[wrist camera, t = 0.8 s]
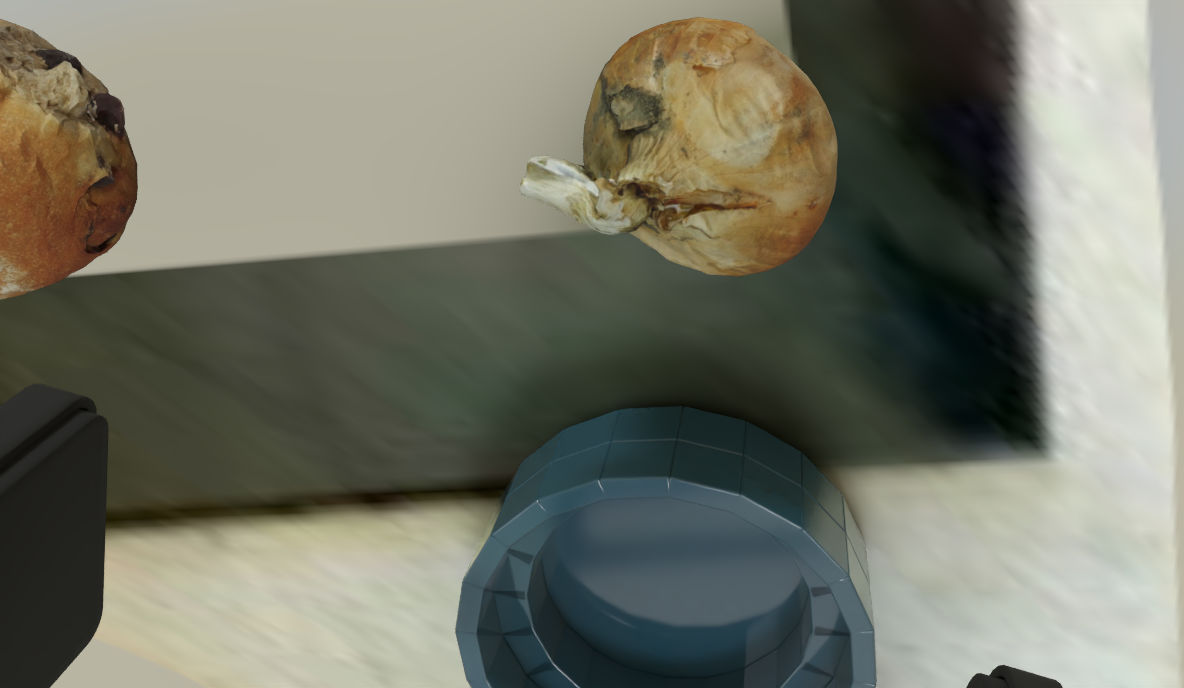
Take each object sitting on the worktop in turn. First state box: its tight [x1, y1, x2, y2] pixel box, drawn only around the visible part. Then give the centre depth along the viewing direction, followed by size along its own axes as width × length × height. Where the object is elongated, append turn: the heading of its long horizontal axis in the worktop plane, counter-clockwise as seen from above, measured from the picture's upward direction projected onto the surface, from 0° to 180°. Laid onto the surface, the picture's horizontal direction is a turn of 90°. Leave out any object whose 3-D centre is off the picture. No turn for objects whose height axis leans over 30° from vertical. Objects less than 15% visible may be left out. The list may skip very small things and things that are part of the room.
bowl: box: [455, 406, 877, 688], centre depth 40 cm, size 15×15×6 cm
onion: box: [519, 17, 837, 276], centre depth 31 cm, size 8×8×8 cm
